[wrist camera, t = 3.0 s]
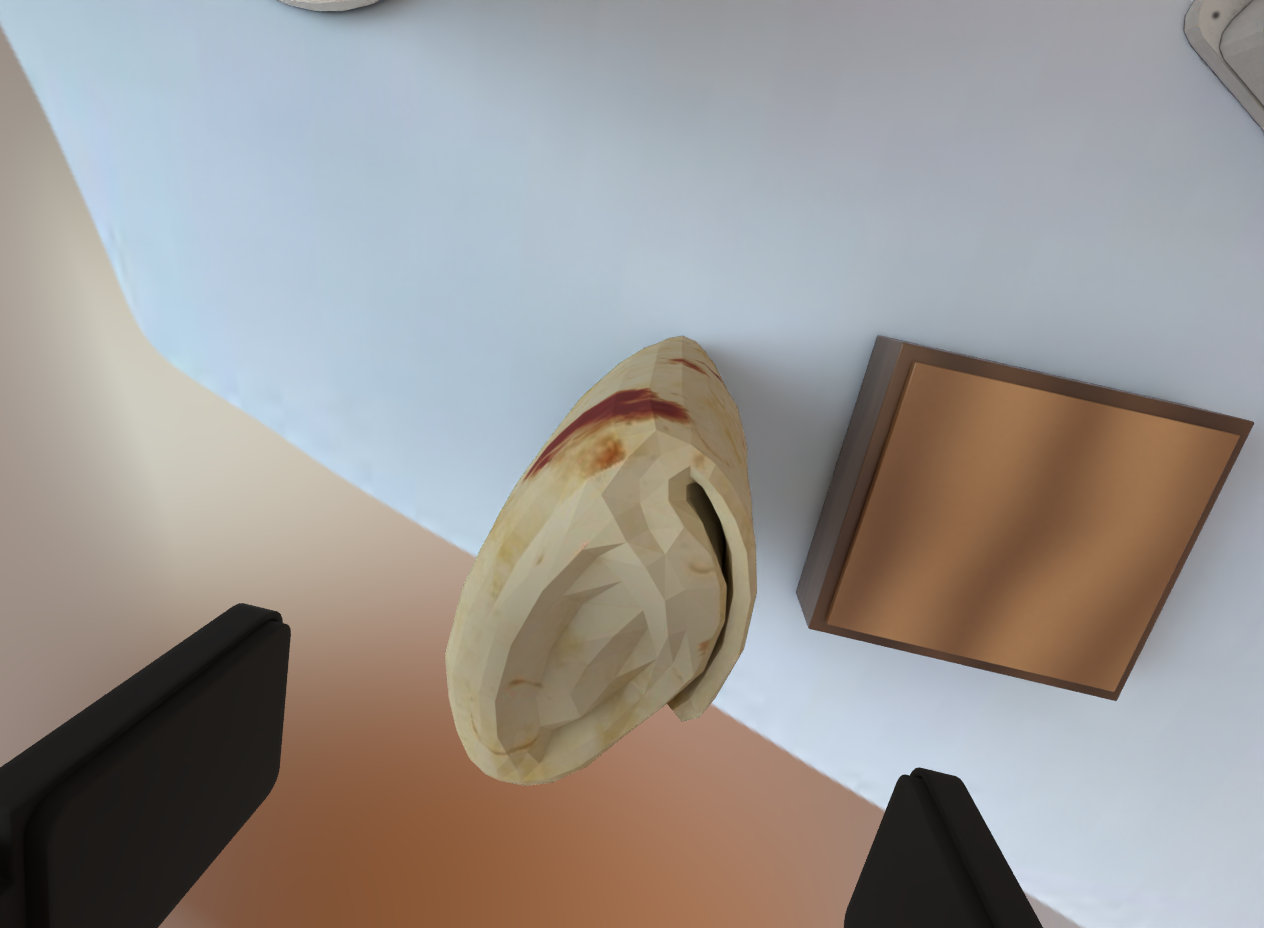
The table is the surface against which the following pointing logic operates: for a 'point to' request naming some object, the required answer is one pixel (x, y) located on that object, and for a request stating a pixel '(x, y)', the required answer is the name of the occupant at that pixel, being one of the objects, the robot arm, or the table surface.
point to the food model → (609, 573)
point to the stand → (1011, 516)
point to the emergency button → (1232, 46)
